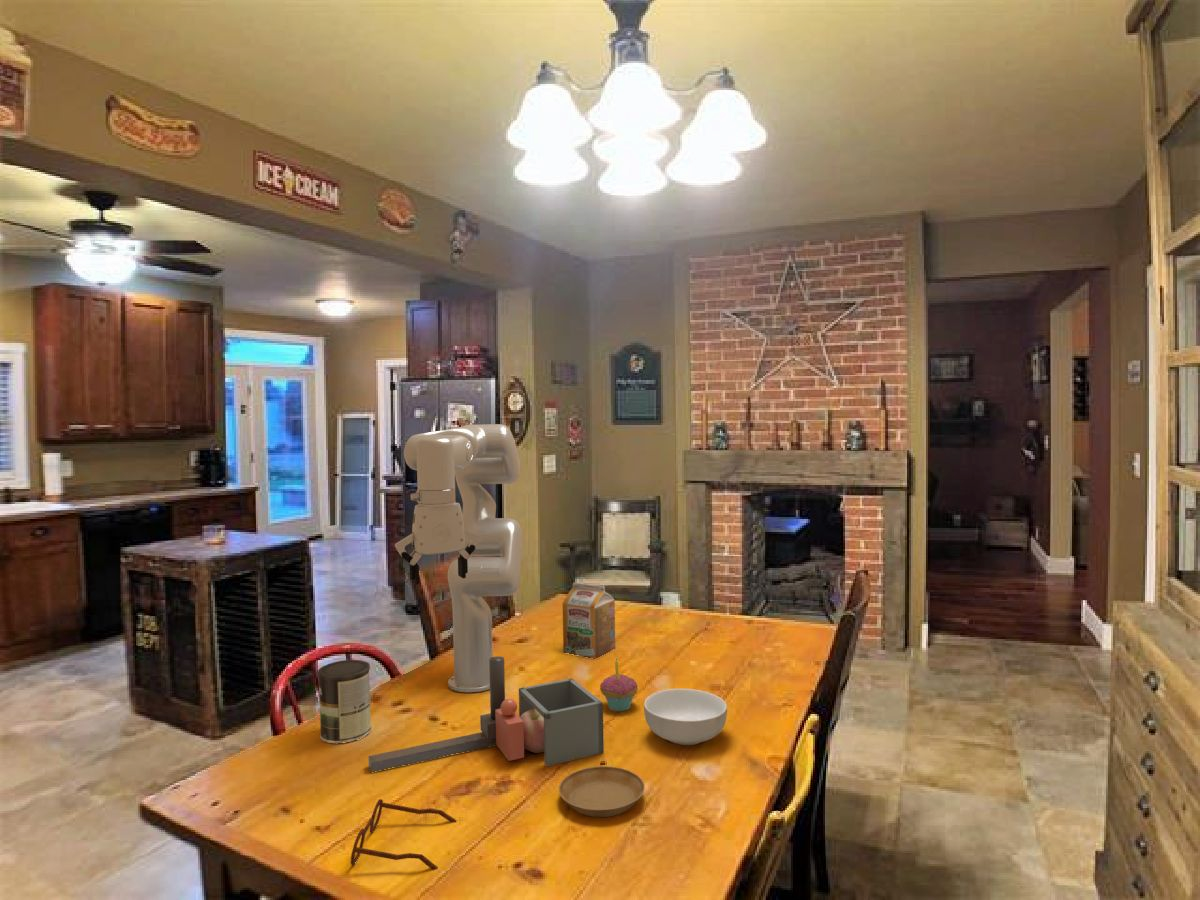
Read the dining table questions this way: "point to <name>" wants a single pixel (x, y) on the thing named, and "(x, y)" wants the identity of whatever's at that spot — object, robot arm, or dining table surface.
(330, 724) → the coffee can
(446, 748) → the rail
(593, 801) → the plant saucer
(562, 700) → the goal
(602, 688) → the cupcake
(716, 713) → the cereal bowl
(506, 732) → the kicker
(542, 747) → the apple
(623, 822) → the dining table surface
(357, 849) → the glasses
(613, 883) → the dining table surface
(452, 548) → the robot arm
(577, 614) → the milk carton
